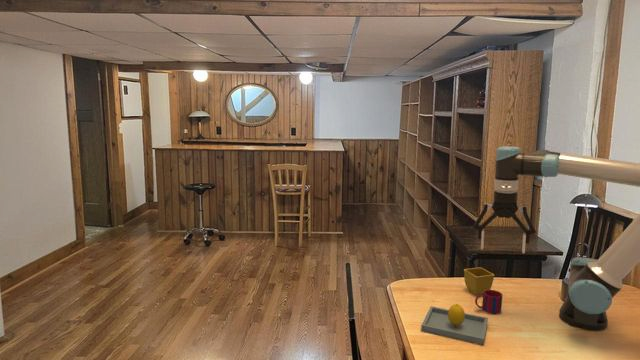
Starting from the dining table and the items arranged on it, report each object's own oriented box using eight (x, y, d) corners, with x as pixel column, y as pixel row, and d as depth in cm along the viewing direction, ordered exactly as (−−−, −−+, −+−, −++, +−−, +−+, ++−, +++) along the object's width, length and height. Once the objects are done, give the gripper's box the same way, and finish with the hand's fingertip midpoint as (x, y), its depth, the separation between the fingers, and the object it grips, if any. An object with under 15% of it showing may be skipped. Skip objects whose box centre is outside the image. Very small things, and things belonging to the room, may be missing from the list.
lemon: (451, 320, 160) (452, 299, 158) (466, 325, 156) (468, 303, 155) (444, 326, 156) (446, 304, 154) (459, 331, 152) (461, 309, 151)
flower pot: (461, 289, 188) (463, 268, 186) (479, 287, 190) (481, 267, 189) (474, 298, 180) (476, 276, 178) (493, 295, 182) (495, 274, 181)
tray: (487, 323, 159) (487, 317, 159) (483, 345, 145) (483, 339, 144) (430, 311, 167) (430, 306, 167) (421, 331, 153) (421, 325, 153)
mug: (503, 314, 166) (505, 297, 165) (477, 314, 166) (478, 297, 165) (496, 306, 173) (498, 289, 172) (470, 306, 173) (472, 289, 171)
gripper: (467, 191, 158) (464, 249, 161) (546, 195, 148) (542, 257, 152) (468, 187, 165) (466, 243, 168) (544, 191, 155) (540, 250, 159)
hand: (502, 250), depth 160 cm, fingers open, 13 cm apart
